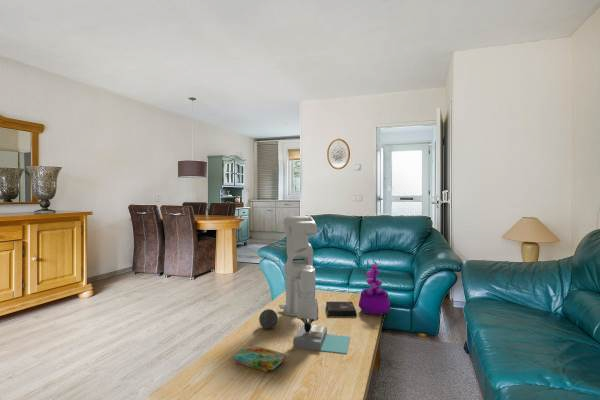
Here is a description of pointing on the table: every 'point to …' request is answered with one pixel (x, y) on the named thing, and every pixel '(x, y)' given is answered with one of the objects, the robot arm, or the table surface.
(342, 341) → the mat
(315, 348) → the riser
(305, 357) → the table surface
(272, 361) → the puzzle game
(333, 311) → the portable cd player
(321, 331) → the tile
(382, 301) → the decorative plant
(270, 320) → the decorative ball
